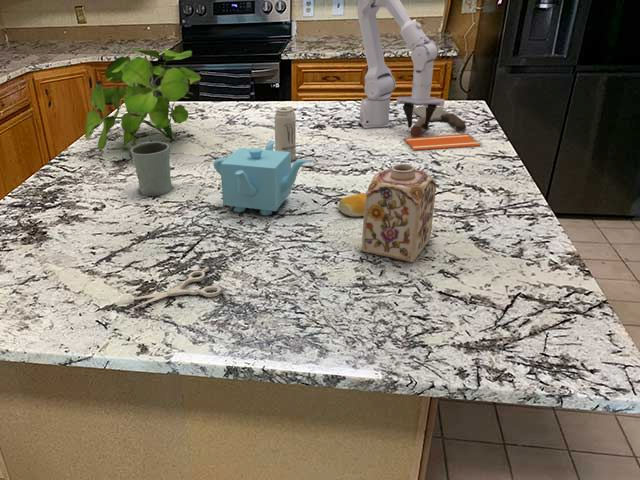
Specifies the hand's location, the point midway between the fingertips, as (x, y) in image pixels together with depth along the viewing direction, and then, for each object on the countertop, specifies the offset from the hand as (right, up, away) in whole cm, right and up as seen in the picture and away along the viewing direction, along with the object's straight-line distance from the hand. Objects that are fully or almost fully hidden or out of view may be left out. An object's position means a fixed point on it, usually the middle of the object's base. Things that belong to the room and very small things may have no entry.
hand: (417, 127), depth 197 cm
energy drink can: (-44, -14, -14) cm, 48 cm away
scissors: (-71, -55, -77) cm, 118 cm away
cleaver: (+11, +6, +11) cm, 16 cm away
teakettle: (-52, -32, -43) cm, 75 cm away
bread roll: (-29, -34, -48) cm, 66 cm away
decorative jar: (-24, -45, -65) cm, 82 cm away
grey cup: (-81, -26, -30) cm, 90 cm away
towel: (+5, -7, -9) cm, 13 cm away
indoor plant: (-88, -4, +6) cm, 88 cm away
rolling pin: (+1, 0, 0) cm, 1 cm away
